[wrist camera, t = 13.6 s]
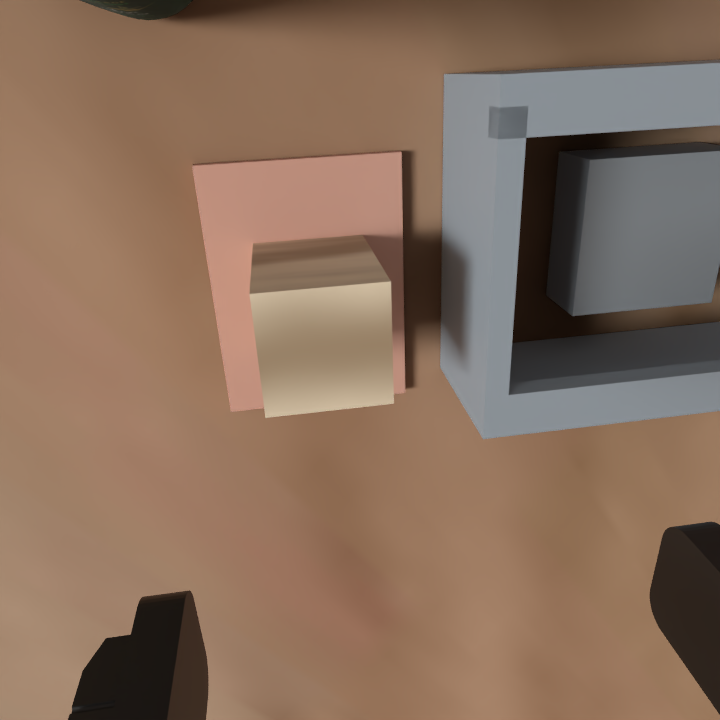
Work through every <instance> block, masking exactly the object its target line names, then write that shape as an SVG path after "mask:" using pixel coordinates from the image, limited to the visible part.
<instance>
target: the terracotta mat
mask: <svg viewBox="0 0 720 720" xmlns="http://www.w3.org/2000/svg"><path fill="white" fill-rule="evenodd" d="M192 168H193V175H194V181H195V187H196V194H197V200H198V206H199V213H200V219H201V225H202V231H203V238H204V244H205V250H206V257H207V263H208V269H209V276H210V282H211V288H212V295H213V301H214V307H215V314H216V320H217V326H218V333H219V339H220V345H221V352H222V358H223V364H224V370H225V377H226V383H227V389H228V396H229V402H230V408H231V412H233V411H243V410H252V409H261V408H264V402H263V395H262V387H261V379H260V371H259V364H258V356H257V348H256V341H255V333H254V325H253V318H252V310H251V302H250V295H249V293H250V278H251V263H252V248H253V243H265V242H278V241H290V240H303V239H315V238H328V237H340V236H353V235H363V236H364V238H365V240H366V241H367V243H368V244H369V246H370V248H371V249H372V251H373V253H374V254H375V256H376V258H377V259H378V261H379V263H380V264H381V266H382V268H383V269H384V271H385V272H386V274H387V276H388V277H389V279H390V281H391V304H392V345H393V386H394V394H398V393H405V342H404V277H403V211H402V152H401V151H387V152H372V153H357V154H342V155H327V156H311V157H296V158H281V159H266V160H250V161H235V162H220V163H205V164H193V165H192Z"/></svg>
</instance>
